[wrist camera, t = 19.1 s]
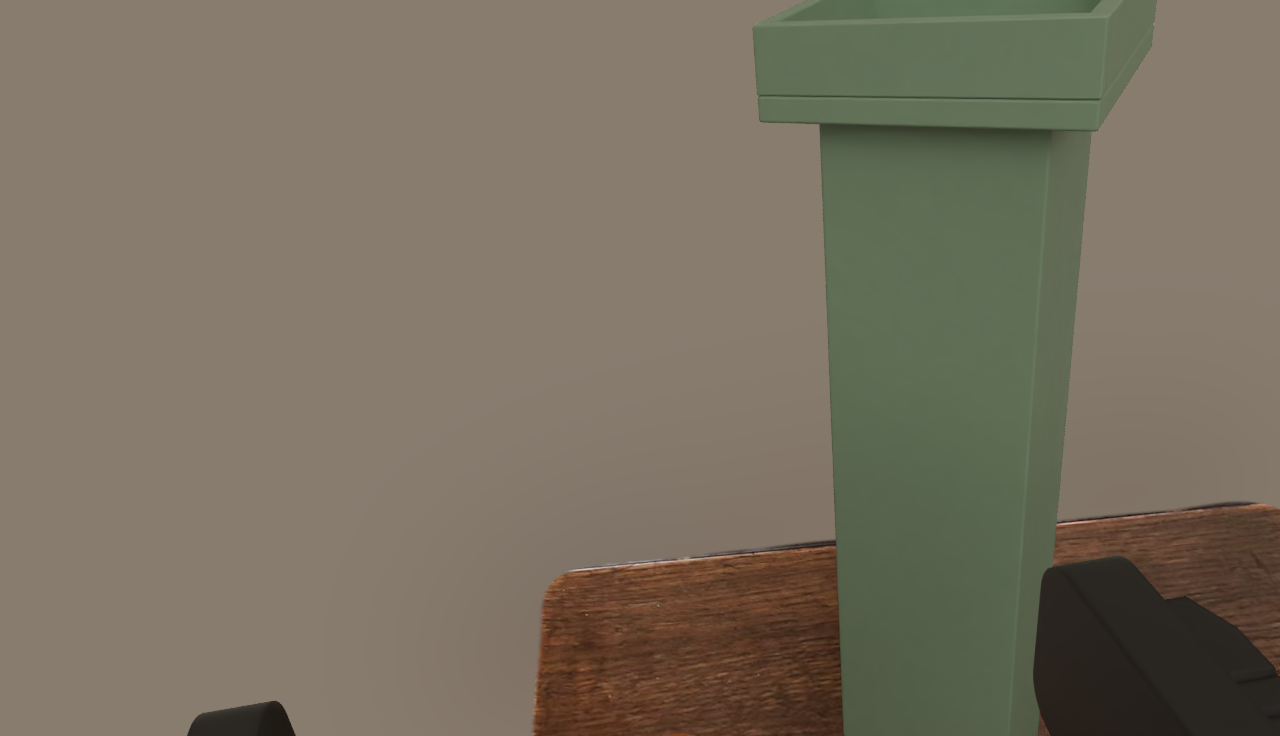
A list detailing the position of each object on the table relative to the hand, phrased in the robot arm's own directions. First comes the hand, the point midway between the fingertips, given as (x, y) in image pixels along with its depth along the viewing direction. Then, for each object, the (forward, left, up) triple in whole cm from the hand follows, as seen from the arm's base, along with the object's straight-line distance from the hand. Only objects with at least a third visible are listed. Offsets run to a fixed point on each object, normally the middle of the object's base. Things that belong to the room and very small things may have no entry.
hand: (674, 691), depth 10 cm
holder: (+17, +2, -27) cm, 32 cm away
